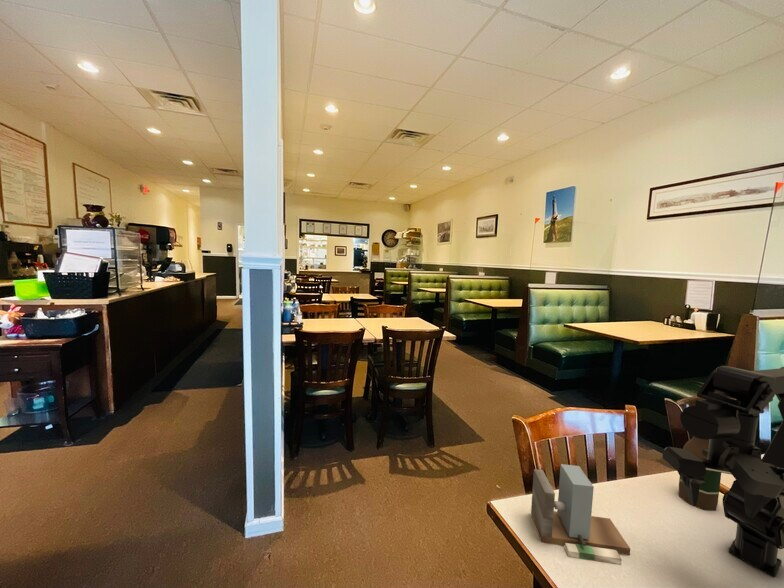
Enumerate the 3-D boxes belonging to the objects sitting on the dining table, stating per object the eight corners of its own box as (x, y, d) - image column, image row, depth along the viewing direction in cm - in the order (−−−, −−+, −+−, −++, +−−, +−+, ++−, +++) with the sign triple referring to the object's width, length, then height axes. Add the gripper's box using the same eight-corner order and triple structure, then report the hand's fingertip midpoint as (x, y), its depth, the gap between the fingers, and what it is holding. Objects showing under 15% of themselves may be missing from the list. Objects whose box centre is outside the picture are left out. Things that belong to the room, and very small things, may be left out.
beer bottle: (670, 494, 84) (679, 408, 82) (685, 486, 87) (694, 403, 85) (709, 515, 77) (720, 421, 75) (723, 506, 80) (734, 416, 78)
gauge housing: (609, 524, 73) (613, 478, 72) (637, 566, 63) (642, 513, 62) (530, 514, 76) (533, 469, 75) (545, 552, 65) (549, 501, 64)
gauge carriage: (575, 514, 74) (579, 466, 73) (594, 548, 65) (598, 493, 64) (548, 510, 75) (551, 463, 74) (563, 544, 66) (567, 490, 65)
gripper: (706, 446, 54) (693, 530, 55) (844, 468, 50) (828, 559, 51) (666, 418, 65) (655, 489, 66) (776, 435, 61) (764, 510, 62)
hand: (720, 510), depth 61 cm, fingers open, 9 cm apart
